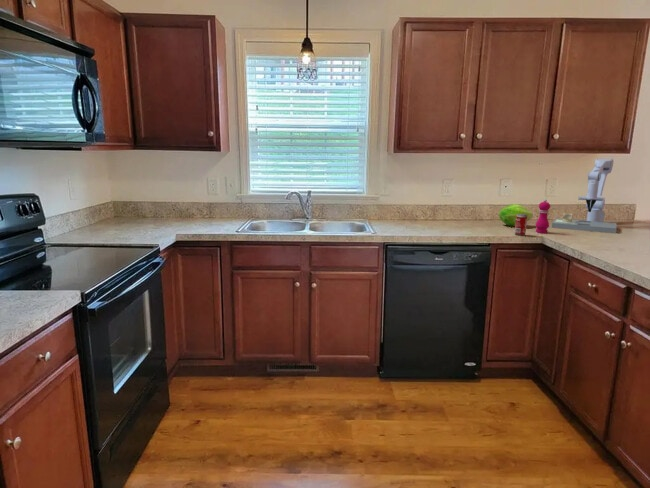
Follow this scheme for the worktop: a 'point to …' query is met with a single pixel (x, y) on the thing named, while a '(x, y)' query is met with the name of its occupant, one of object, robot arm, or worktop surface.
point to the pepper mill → (543, 217)
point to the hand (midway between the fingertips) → (589, 211)
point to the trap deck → (586, 225)
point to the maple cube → (567, 217)
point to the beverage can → (520, 224)
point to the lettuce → (513, 214)
